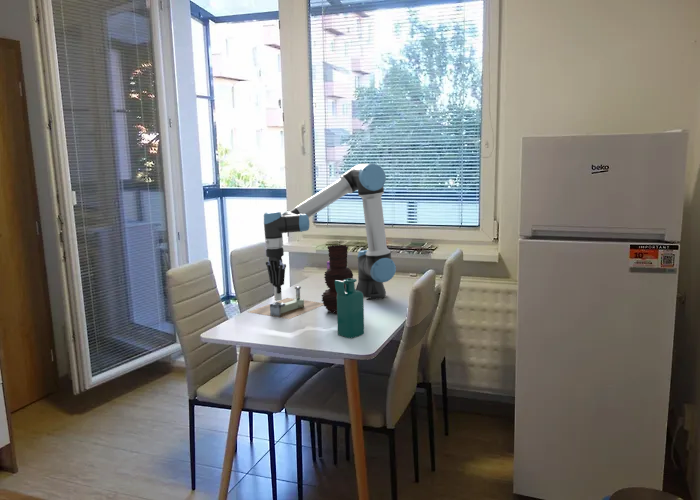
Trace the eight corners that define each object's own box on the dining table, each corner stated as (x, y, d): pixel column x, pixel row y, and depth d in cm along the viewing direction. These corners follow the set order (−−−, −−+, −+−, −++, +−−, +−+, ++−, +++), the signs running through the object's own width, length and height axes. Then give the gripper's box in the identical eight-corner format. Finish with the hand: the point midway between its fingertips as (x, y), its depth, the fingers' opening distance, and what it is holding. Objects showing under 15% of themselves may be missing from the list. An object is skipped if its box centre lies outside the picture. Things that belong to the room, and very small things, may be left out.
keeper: (285, 314, 239) (285, 303, 238) (279, 316, 236) (279, 305, 235) (276, 313, 242) (275, 301, 241) (270, 315, 238) (269, 304, 238)
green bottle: (351, 329, 221) (350, 275, 218) (366, 334, 215) (365, 278, 211) (332, 335, 215) (331, 279, 211) (347, 340, 208) (346, 282, 205)
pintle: (302, 299, 251) (302, 286, 250) (298, 300, 248) (298, 287, 248) (297, 298, 252) (297, 285, 251) (293, 299, 250) (293, 287, 249)
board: (327, 306, 256) (327, 303, 256) (289, 322, 233) (289, 319, 233) (287, 300, 268) (287, 297, 268) (247, 315, 245) (247, 312, 245)
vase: (314, 315, 242) (312, 247, 237) (337, 307, 254) (336, 242, 249) (341, 321, 232) (339, 250, 228) (364, 313, 244) (363, 245, 239)
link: (298, 304, 254) (298, 298, 254) (306, 306, 251) (306, 299, 251) (271, 313, 241) (270, 306, 241) (279, 314, 238) (279, 308, 238)
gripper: (259, 247, 245) (263, 299, 249) (275, 250, 235) (279, 304, 239) (273, 244, 249) (277, 296, 253) (290, 247, 239) (293, 300, 243)
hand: (278, 300), depth 246 cm, fingers closed
